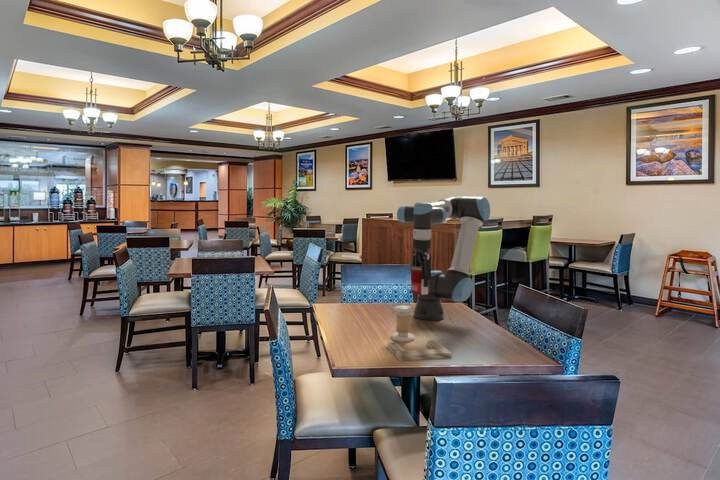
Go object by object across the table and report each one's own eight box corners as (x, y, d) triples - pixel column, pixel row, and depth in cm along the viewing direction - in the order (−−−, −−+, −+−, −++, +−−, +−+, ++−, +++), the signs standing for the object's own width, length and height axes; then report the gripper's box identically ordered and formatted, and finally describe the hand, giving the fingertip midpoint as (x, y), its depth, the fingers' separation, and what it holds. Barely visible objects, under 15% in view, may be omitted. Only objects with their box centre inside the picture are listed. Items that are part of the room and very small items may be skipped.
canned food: (429, 295, 187) (430, 269, 186) (410, 294, 188) (411, 268, 187) (429, 291, 194) (430, 266, 193) (411, 290, 196) (412, 265, 195)
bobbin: (409, 334, 194) (410, 304, 193) (418, 341, 185) (419, 310, 184) (387, 335, 192) (388, 305, 191) (395, 342, 182) (396, 311, 181)
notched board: (434, 344, 181) (435, 340, 180) (451, 357, 166) (451, 352, 166) (387, 347, 176) (387, 342, 175) (400, 360, 161) (400, 355, 161)
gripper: (404, 237, 198) (402, 287, 200) (424, 241, 178) (422, 297, 180) (419, 236, 200) (418, 287, 202) (441, 241, 180) (439, 296, 183)
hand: (420, 292), depth 191 cm, fingers closed on canned food, 8 cm apart
